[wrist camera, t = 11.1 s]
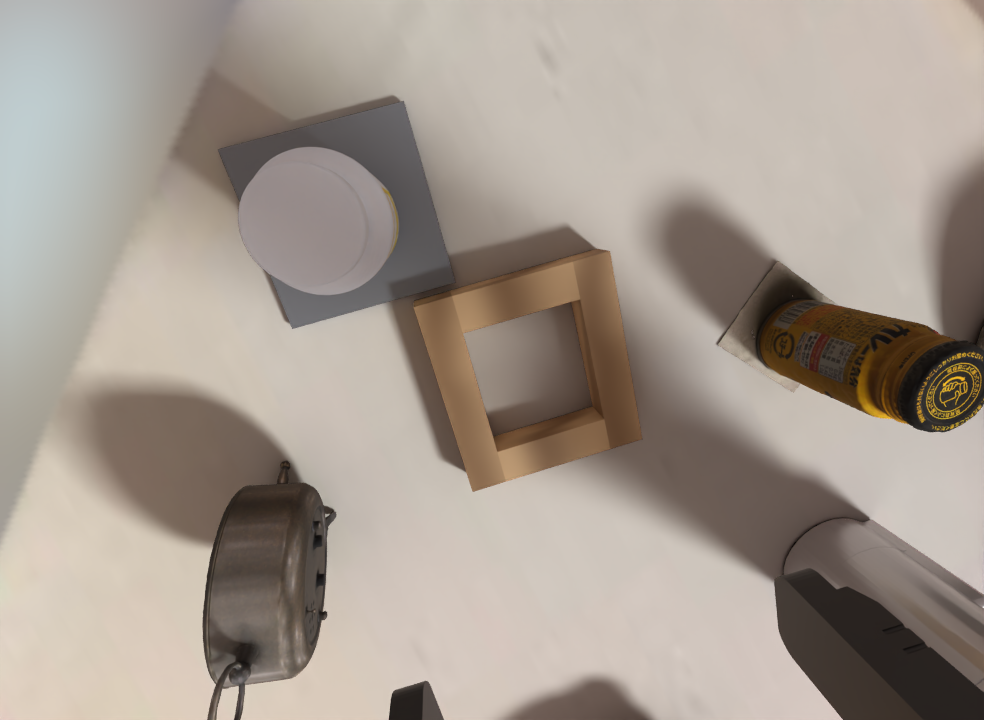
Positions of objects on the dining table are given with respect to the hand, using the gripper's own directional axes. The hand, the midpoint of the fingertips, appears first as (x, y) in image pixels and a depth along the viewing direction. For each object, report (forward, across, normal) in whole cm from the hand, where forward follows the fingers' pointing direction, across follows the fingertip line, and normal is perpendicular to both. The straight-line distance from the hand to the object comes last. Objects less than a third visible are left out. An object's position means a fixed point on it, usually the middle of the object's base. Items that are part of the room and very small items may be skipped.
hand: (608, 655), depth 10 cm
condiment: (+25, -22, +4) cm, 34 cm away
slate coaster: (+24, +7, -12) cm, 27 cm away
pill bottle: (+23, +6, -11) cm, 27 cm away
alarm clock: (+24, +16, +8) cm, 30 cm away
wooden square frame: (+24, -2, +1) cm, 24 cm away
